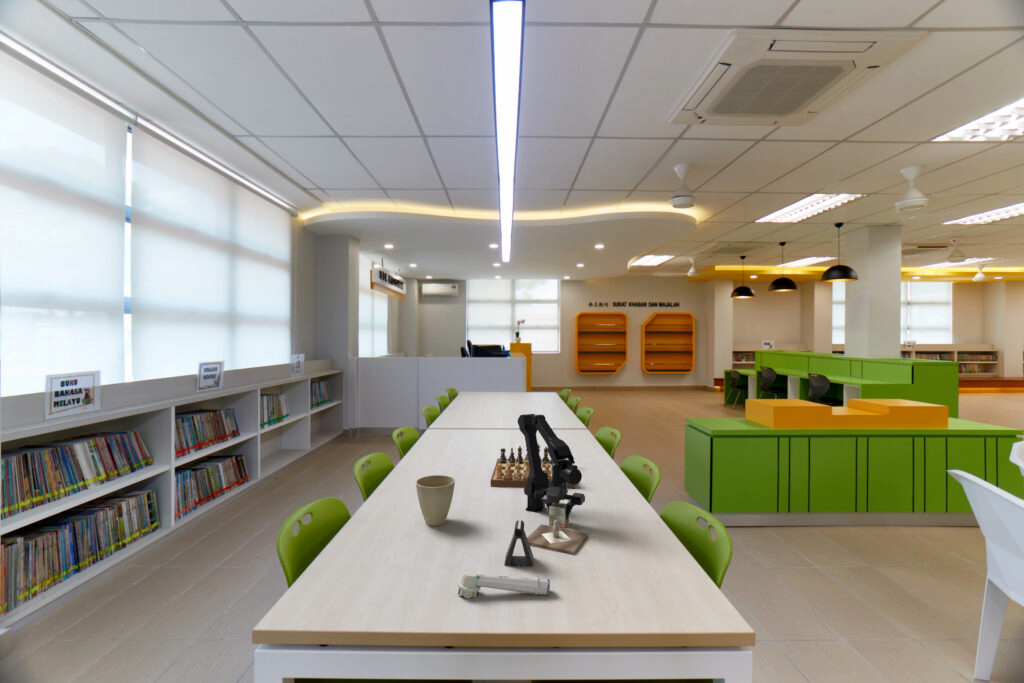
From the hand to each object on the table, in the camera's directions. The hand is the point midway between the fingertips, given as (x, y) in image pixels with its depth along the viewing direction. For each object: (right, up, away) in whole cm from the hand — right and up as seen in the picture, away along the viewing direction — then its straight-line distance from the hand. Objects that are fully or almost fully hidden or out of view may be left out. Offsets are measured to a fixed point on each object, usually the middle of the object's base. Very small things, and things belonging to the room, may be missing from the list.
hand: (559, 518), depth 176 cm
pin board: (-2, -2, -14) cm, 15 cm away
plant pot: (-47, -2, +1) cm, 47 cm away
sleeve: (0, -2, 0) cm, 2 cm away
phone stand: (-16, -2, -30) cm, 34 cm away
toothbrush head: (-20, -3, -49) cm, 53 cm away
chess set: (-7, -3, +63) cm, 63 cm away
